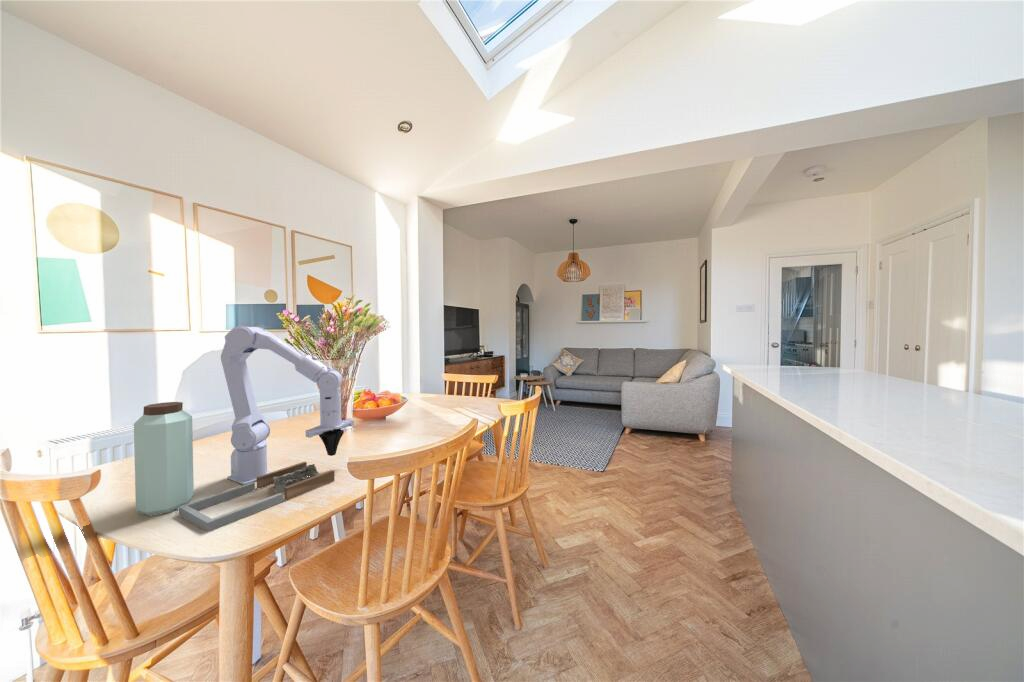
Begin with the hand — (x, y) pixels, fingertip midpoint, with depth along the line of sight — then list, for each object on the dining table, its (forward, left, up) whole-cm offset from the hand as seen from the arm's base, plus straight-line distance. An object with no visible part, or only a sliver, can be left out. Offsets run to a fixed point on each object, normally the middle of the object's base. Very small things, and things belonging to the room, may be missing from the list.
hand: (331, 454), depth 107 cm
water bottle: (-15, -33, -5) cm, 37 cm away
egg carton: (0, -11, -6) cm, 12 cm away
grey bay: (0, -26, -5) cm, 26 cm away
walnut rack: (0, -11, -5) cm, 12 cm away
